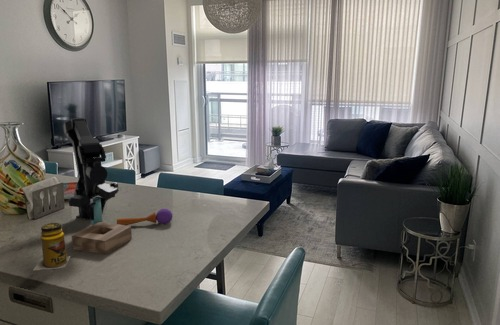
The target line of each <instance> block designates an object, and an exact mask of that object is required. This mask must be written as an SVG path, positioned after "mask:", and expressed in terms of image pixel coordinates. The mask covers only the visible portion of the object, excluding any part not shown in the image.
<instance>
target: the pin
mask: <svg viewBox="0 0 500 325" xmlns="http://www.w3.org/2000/svg"><path fill="white" fill-rule="evenodd" d="M93 203H96V204H95V206H94V220H90V224H91V225H90V226H92V225H94V224H96V223H98V222H104V221H103V220H104V219H103V214H102V209H101V199H100V198H94V199H93Z"/></svg>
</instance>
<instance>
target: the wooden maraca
mask: <svg viewBox="0 0 500 325" xmlns="http://www.w3.org/2000/svg"><path fill="white" fill-rule="evenodd" d="M172 220H173V213H172V211H171V210H169V209H168V208H161V209H159V210H158V211H157V212H155V211H154V212H152V213H151V214H149V215H148V216H146V217H129V218H127V217H125V218H123V217H122V218H116V224H119V225H126V226H131V225H134V224H138V223H142V222H145V221H147V222H150V223H154V224H157V223H159V224H161V225H168V224H169V223H171V221H172Z"/></svg>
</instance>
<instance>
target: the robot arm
mask: <svg viewBox="0 0 500 325" xmlns="http://www.w3.org/2000/svg"><path fill="white" fill-rule="evenodd" d="M63 132H64V133H63V134H65V135H66V140H68V141H69V142H70V143H71V144H72V149H73V154H74V159H75V166H76V171H77V176H78V180H77V182H76V184H75V189H74V192H73V193H74V194H73V196H72V197H70V198H69V199H68V204H69V205H68V206H69V207H76V208H78V215H77V216H76V218H77V219H83V220H90V221H91V220H94V206H95V204H96V203H93V199H94V198H100V199H101V209H102V215H103V214H104V210H105V206H106V203H107V201H108V200H110V199H112V198H115V197H116V195H117V194H118V192H119V183H118V182H116V181H114V182H111V183H107V182H106V179H107V178H108V170H107V169H106V167H104V166H103V165H102V163H103V162H106V159H107V155H106V152H105V149H104V146H103V145H102V143H101V142H100V141H99V140H98V138H95V137H93V135H92V134H91V132H90V129H89V123H88V120H87V119H86V118H84V117H75V118H74V117H73V118H71V119H70V120H68V121H65V122H64V123H63Z"/></svg>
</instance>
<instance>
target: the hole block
mask: <svg viewBox="0 0 500 325" xmlns="http://www.w3.org/2000/svg"><path fill="white" fill-rule="evenodd" d="M132 235H133V234H132V226H131V225H119V224H117V223H112V222H104V221H103V222H98V223H96V224H94V225H90V226H88V227H86V228H84V229H82V230H80V231H78V232H76V233H74V234H72V235H71V242H72V244H71V245H72V250H73V249H74V250H79V251H84V252H90V253H94V254H100V255H108V254H110V253H111V252H112V251H114V250H116V249H118V248H119V247H121V246H122V245H124V244H125V243H127V242H129V241H130V240H132V239H133V236H132Z"/></svg>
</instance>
